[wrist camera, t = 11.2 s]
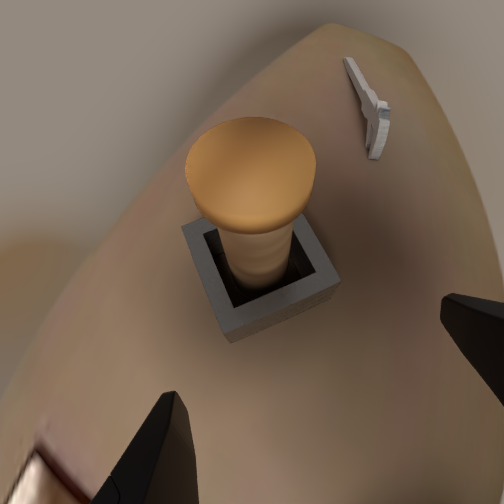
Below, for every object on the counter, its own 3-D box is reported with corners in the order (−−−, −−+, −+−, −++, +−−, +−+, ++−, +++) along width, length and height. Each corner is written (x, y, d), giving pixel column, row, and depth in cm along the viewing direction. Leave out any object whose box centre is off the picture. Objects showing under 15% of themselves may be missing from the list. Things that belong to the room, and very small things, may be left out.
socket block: (283, 214, 26) (285, 185, 22) (330, 298, 23) (341, 280, 19) (193, 250, 25) (181, 226, 21) (230, 343, 22) (223, 333, 18)
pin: (303, 258, 24) (331, 136, 12) (277, 319, 22) (288, 235, 10) (242, 235, 25) (222, 107, 13) (213, 291, 23) (161, 189, 12)
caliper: (377, 164, 28) (395, 118, 22) (367, 163, 28) (383, 116, 23) (349, 61, 37) (355, 25, 31) (342, 60, 37) (347, 24, 31)
